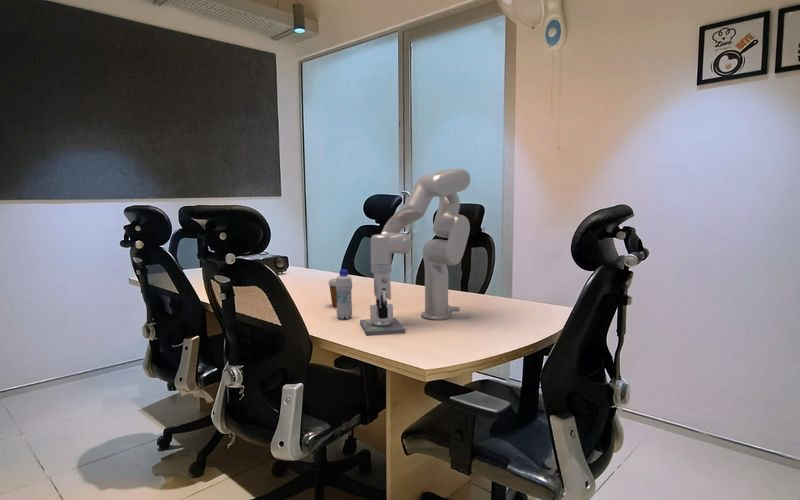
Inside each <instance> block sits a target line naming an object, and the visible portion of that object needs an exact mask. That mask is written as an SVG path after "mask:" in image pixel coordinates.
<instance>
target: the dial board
mask: <svg viewBox="0 0 800 500" xmlns="http://www.w3.org/2000/svg"><path fill="white" fill-rule="evenodd" d="M364 320H370V318H367V319H360V320H359V324H360V326H361V328H362V330H363V332H364V334H365V336H381V335H383V336H384V335H395V334H396V335H397V334H406V328H405V327H404V326H403V325H402V323H401V322H400V321H399V320H398V319H397V318H396V317H393V322H391V325H388V326H375V325H373V324H372V323H369V324H364Z"/></svg>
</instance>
